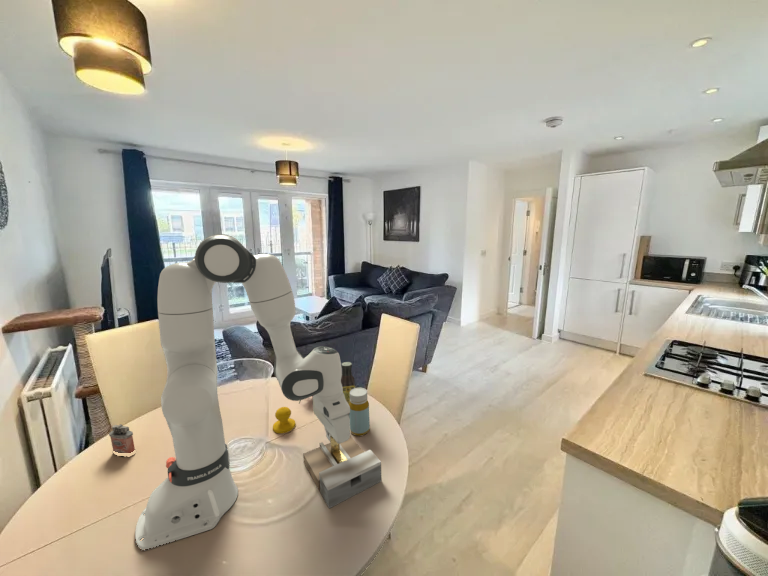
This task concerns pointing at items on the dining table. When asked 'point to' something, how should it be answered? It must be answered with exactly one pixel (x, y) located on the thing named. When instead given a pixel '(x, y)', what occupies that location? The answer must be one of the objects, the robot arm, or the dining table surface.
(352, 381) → the sauce bottle
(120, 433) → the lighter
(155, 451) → the dining table surface
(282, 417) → the doorknob
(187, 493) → the robot arm
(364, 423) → the bottle
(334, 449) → the bolt
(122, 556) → the dining table surface
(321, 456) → the door latch block
